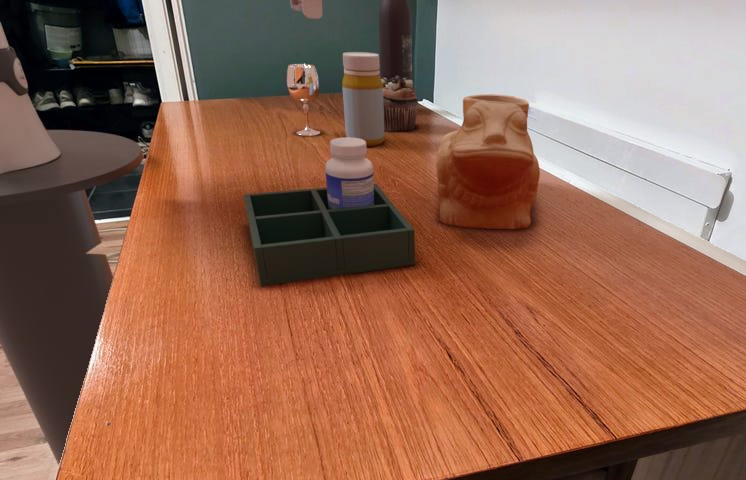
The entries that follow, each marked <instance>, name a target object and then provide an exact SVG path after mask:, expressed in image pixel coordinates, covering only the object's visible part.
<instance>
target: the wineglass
mask: <svg viewBox="0 0 746 480" xmlns="http://www.w3.org/2000/svg"><path fill="white" fill-rule="evenodd" d="M319 79H320V78H319V76H318V72H317V69H316V67H315V65H314V64H307V63H293V64H292V63H291V64H288V65H287V70H286V87H287V92H288V94H289V95H290V97H291V98H292V99H293V100H295V101H297V102H300V103H302V104H303V105H302V110H303V112H304V117H305V128H304V129H302V130H301V129H300V130H298V131H296V135H298V136H304V137H313V136H318V135H320V134H321V131H319V130H317V129H314V128H313V129H312V128H311V126H310V122H309V110H310V109H309V105H308V103H310V102H314V100H316V99H317V98H318V97H319V95H320V89H321V88H320V80H319Z"/></svg>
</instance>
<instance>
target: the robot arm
mask: <svg viewBox="0 0 746 480" xmlns="http://www.w3.org/2000/svg"><path fill="white" fill-rule="evenodd" d="M289 3H290V8H291V9H292V11H295V12H302V14H303V16H304V17H306V18H307V19H317V20H320V19H321V18H322V17H323V0H289ZM46 130H47V129H46V127H45V126H44V123H43V122H42V120H41V118H40V117H39V114H38V113H37V110H36V109H35V106H34V104H33V102H32V100H31V97H30V96H29V86H28V81H27V78H26V75H25V72H24V70H23V67H22V63H21V61H20V59H19V58H18V55H17V53H16V51H15V48H14V47H12V46H10V45H9V42H8V40H7V37H6V34H5V31H4V28H3V25H2V22H1V21H0V174H2V173H6V172H10V171H15V170H20V169H25V168H29V167H33V166H37V165H41V164H44V163H47V162H49V161H52V160H54V159H56V158H57V157H59V156H60V154H61V151H60V150H59V149H58V147H57V146H56V145H55V143H54V142H53V140H52V139H51V137H50V136H49V134H48V132H47V131H46Z"/></svg>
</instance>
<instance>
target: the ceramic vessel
mask: <svg viewBox="0 0 746 480" xmlns="http://www.w3.org/2000/svg"><path fill="white" fill-rule="evenodd" d="M529 109H530V103H529V101H528V100H526V99H523V98H519V97H515V96H513V95H507V94H506V95H505V94H491V93H490V94H489V93H488V94H487V93H485V94H484V93H483V94H481V93H480V94H474V95H473V94H472V95H468V96H464V97H463V99H462V114H463V121H462V123H461V126H460V127H459V129H457V130H454V131H449V132H448V133H446V134H444V136H443V137H442V138H441V140H440V143H439V146H438V150H437V155H436V158H435V160H436V161H435V163H436V164H435V168H436V169H435V170H436V177H437V192H438V196H439V201H440V202H439V215H438V216H439V221H440V222H441V224H444V225H447V226H453V227H454V226H455V227H461V228H469V229H470V228H472V229H484V230H485V229H486V230H522V229H527V228H529V227H531V224H532V221H531V213H530V212H531V207H532V206H533V205H535V202H536V201H537V194H538V189H539V182H540V178H541V177H540V176H541V172H540V164H539V160H538V158H537V156H536V155H535V153H534V146H533V143H532V139H531V136H530V135H529V132H528V118H529V117H528V116H529Z"/></svg>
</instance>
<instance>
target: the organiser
mask: <svg viewBox="0 0 746 480" xmlns="http://www.w3.org/2000/svg"><path fill="white" fill-rule="evenodd" d="M242 196H243V201H244V206H245V212H246V218H247V223H248V229H249V234H250V238H251V239H250V240H251V245H252V249H253V254H254V260H255V264H256V270H257V275H258V279H259V286H260V287H265V286H266V287H267V286H275V285H280V284H281V285H282V284H286V283H294V282H302V281H308V280H309V281H310V280H316V279H317V280H318V279H323V278H331V277H337V276H344V275H345V276H346V275H352V274H358V273H364V272H365V273H366V272H374V271H380V270H387V269H394V268H395V269H396V268H401V267H408V266H414V265H416V257H415V256H416V250H415V249H416V247H415V244H416V241H415V240H416V239H415V236H416V235H415V228H414V227H413V226H412V225H411V223H410V222H409V221H408V220H407V218H405V216H404V215H403V214H402V213H401V211H399V209H398V208H397V207H396V205H395V204H394V202H392V200H391V199H390V198H389V197H388V196H387V194H386V193H385V192H384V191H383V190H382V189H381V187H380V185H378V184H377V183H374V205H371V206H361V207H350V208H340V209H329V208H328V196H327V187H317V188H305V189H293V190H292V189H291V190H281V191H279V190H277V191H266V192H254V193H244V194H243V195H242Z"/></svg>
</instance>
